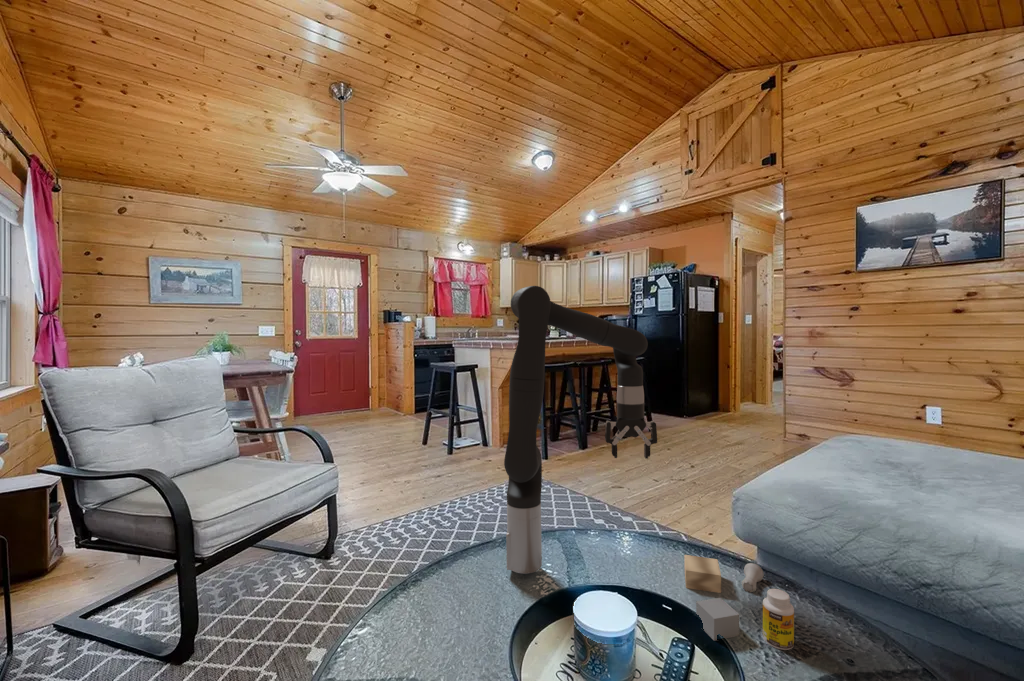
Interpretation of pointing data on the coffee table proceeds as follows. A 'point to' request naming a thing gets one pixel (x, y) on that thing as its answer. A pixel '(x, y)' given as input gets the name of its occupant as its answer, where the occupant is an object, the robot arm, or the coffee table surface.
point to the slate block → (718, 618)
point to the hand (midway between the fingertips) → (630, 457)
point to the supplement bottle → (778, 620)
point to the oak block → (702, 573)
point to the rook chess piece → (752, 577)
